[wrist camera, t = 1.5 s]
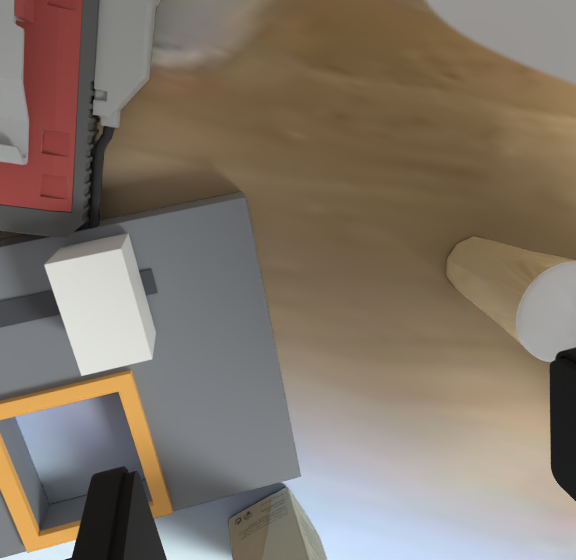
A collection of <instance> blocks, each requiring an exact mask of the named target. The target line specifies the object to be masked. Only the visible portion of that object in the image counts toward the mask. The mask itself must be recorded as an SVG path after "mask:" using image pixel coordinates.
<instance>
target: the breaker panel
mask: <svg viewBox="0 0 576 560" xmlns="http://www.w3.org/2000/svg"><path fill="white" fill-rule="evenodd" d="M127 233H129V237H130V240H131V244H132V248H133V251H134V255H135V258H136V262H137V266H138V269H139V273H140V277H141V280H142V284H143V287H144V291H145V295H146V298H147V302H148V305H149V309H150V313H151V316H152V320H153V324H154V327H155V331H156V336H155V344H154V351H153V359H152V360H147V361H143V362H139V363H135V364H130V365H126V366H122V367H118V368H113V369H109V370H105V371H101V372H96V373H92V374H88V375H84V376H81V373H80V370H79V367H78V364H77V361H76V358H75V355H74V352H73V349H72V346H71V343H70V340H69V337H68V334H67V331H66V328H65V325H64V322H63V319H62V317H61V314H60V311H59V308H58V305H57V302H56V299H55V296H54V293H53V290H52V287H51V284H50V281H49V278H48V275H47V272H46V269H45V266H44V264H45V263H46V262H47V261H48V260H49V259H50V258H51V257H52V256H53V255H54V254H55V253H56V252H57V251H58V250H59V248H60V247H63V246H68V245H73V244H78V243H83V242H88V241H93V240H97V239H102V238H107V237H112V236H117V235H122V234H127ZM115 392H119V395H120V398H121V401H122V405H123V408H124V411H125V414H126V417H127V421H128V424H129V427H130V430H131V433H132V436H133V440H134V443H135V446H136V449H137V452H138V456H139V459H140V462H141V465H142V468H143V472H144V475H145V478H146V480H142V484H143V487H144V491H145V494H146V497H147V500H148V503H149V506H150V509H151V512H152V515H153V519H154V518H158V517H161V516H165V515H169V514H172V513H173V511H176V510H180V509H183V508H187V507H191V506H194V505H198V504H202V503H205V502H209V501H213V500H217V499H220V498H224V497H228V496H231V495H235V494H239V493H242V492H246V491H250V490H253V489H257V488H261V487H264V486H268V485H272V484H275V483H279V482H283V481H286V480H290V479H294V478H297V477H301V474H300V469H299V464H298V459H297V453H296V448H295V443H294V438H293V433H292V428H291V423H290V418H289V413H288V408H287V403H286V398H285V393H284V388H283V383H282V378H281V373H280V368H279V363H278V358H277V353H276V347H275V342H274V337H273V332H272V327H271V322H270V317H269V312H268V307H267V302H266V297H265V292H264V287H263V282H262V277H261V272H260V267H259V262H258V257H257V252H256V247H255V241H254V236H253V231H252V226H251V221H250V216H249V211H248V206H247V201H246V197H245V196H244V194H243V193H242V192H237V193H232V194H227V195H222V196H217V197H212V198H207V199H202V200H197V201H192V202H187V203H182V204H177V205H172V206H167V207H162V208H157V209H152V210H147V211H143V212H138V213H133V214H128V215H123V216H118V217H113V218H108V219H103V220H99V225H98V227H95V228H91V229H89V222H88V223H84V224H83V225H81V226H80V227H79V228H78V229H77V230H75V231H74V232H73V233H72V234H71V235H69V236H68V237H51V236H42V235H33V234H28V235H23V236H18V237H13V238H8V239H3V240H0V558H3V557H7V556H10V555H14V554H18V553H21V552H25V551H27V553H29V552H33V551H36V550H40V549H44V548H47V547H51V546H55V545H58V544H62V543H66V542H69V541H73V540H76V539H77V535H78V531H79V527H80V523H81V519H82V515H83V511H84V506H85V502H86V498H87V495H85V496H81V497H77V498H73V499H70V500H66V501H62V502H58V503H54V504H51V505H49V502H48V500H47V497H46V495H45V492H44V490H43V487H42V485H41V482H40V479H39V477H38V474H37V472H36V469H35V467H34V464H33V462H32V459H31V457H30V454H29V451H28V449H27V446H26V444H25V441H24V439H23V436H22V434H21V431H20V429H19V426H18V424H17V421H16V418H15V416H19V415H24V414H28V413H32V412H36V411H40V410H44V409H48V408H53V407H57V406H61V405H65V404H69V403H73V402H78V401H82V400H86V399H90V398H94V397H98V396H102V395H107V394H111V393H115Z"/></svg>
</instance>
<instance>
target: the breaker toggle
mask: <svg viewBox="0 0 576 560" xmlns="http://www.w3.org/2000/svg"><path fill="white" fill-rule="evenodd" d="M44 266H45V269H46V272H47V275H48V278H49V281H50V284H51V287H52V290H53V293H54V296H55V299H56V302H57V305H58V308H59V311H60V314H61V317H62V319H63V322H64V325H65V328H66V331H67V334H68V337H69V340H70V343H71V346H72V349H73V352H74V355H75V358H76V361H77V364H78V367H79V370H80V373H81V376H84V375H88V374H92V373H96V372H101V371H105V370H109V369H113V368H118V367H122V366H126V365H130V364H135V363H139V362H143V361H147V360H152V359H153V351H154V344H155V336H156V331H155V327H154V324H153V320H152V316H151V313H150V309H149V305H148V302H147V298H146V295H145V291H144V287H143V284H142V280H141V277H140V273H139V269H138V266H137V262H136V258H135V255H134V251H133V248H132V244H131V240H130V237H129V233H127V234H122V235H117V236H112V237H107V238H102V239H97V240H93V241H88V242H83V243H78V244H73V245H68V246H63V247H60V248H59V250H58V251H57V252H56V253H55V254H54V255H53V256H52V257H51V258H50V259H49V260H48V261H47V262H46V263H45V264H44Z"/></svg>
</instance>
